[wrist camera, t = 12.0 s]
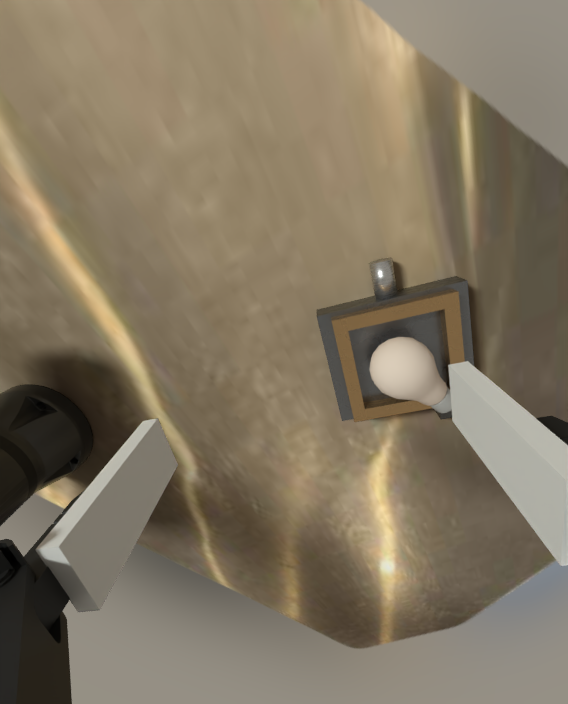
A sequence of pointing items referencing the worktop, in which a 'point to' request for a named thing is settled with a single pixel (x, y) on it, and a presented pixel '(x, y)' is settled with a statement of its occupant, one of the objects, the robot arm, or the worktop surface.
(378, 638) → the worktop surface
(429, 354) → the light bulb
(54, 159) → the worktop surface
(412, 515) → the worktop surface
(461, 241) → the worktop surface
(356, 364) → the grey brown-rimmed square tray
